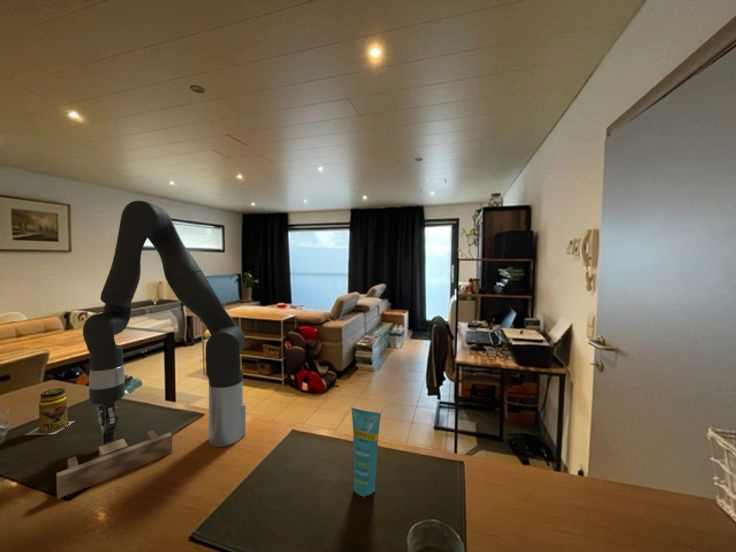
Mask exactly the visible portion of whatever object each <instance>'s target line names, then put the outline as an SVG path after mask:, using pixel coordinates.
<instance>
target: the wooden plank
mask: <svg viewBox="0 0 736 552" xmlns="http://www.w3.org/2000/svg"><path fill="white" fill-rule="evenodd" d="M170 454H173V434H172V433H171V432H166V433H164V434H161V435H159V436H158V434H157V433H156V432H155V431H154V430H153V429H152V430H149V431H146V440H145V441H142V442H138V443H137V444H134V445H131V446H128V448H125V449H122V450H120V451H117V452H114V453H111V454H108V455H106V456H103V457H100V458H99V457H98V458H95V459H93V460H89V461H87V462H84V463H82V464H79V462H78V459H77V456H73V457H70V458H67V469H64V470H62V471H59V472H56V498H57V500H60V499H62V497H63V498H65V497H67V496H69V495H68V494H70V495H73V494H75V493H77V492H80V491H82V490H84V489H87V488H90V487H92V486H95V485H96V484H98V483H99V484H100V483H103V482H104V481H107V480H109V479H111V478H114V477H116V476H119V475H120V474H121V475H122V474H124V473H127V472H129V471H132V470H133V469H134V470H135V469H136V468H139V467H140V466H141V467H142V466H144V465H147V464H149V463H150V462H153V461H156V460H158V459H160V458H163V457H166V456H168V455H170ZM74 492H75V493H74ZM66 495H67V496H66ZM64 496H65V497H64Z"/></svg>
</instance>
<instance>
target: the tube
mask: <svg viewBox="0 0 736 552" xmlns="http://www.w3.org/2000/svg"><path fill="white" fill-rule="evenodd" d="M381 414H382V413H381V412H378V411H369V410H364V409H359V408H356V407H351V420H352V421H351V422H352V438H353V439H352V440H353V490H354V491H355V492H356V493H357V494H359V495H361V496H365V495H369V494H371V493H373V492H374V493H375V489H376V473H377V456H378V443H379V433H380V425H381V424H380V423H381V418H382V416H381ZM354 491H353V492H354ZM355 492H354V493H355ZM356 493H355V494H356ZM374 493H373V494H374ZM357 494H356V495H357Z"/></svg>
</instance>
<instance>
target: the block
mask: <svg viewBox="0 0 736 552" xmlns="http://www.w3.org/2000/svg"><path fill="white" fill-rule="evenodd" d="M128 447H129V446H128V444H127V442H126V440H125V438H120V439H118V440H115V441H113V442H111V443H109V444H106V445H103V444H102V445H101V446H98V458H100V457H103V456H106V455H108V454H111V453H114V452H117V451H120V450H122V449H125V448H128Z"/></svg>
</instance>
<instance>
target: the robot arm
mask: <svg viewBox="0 0 736 552" xmlns="http://www.w3.org/2000/svg"><path fill="white" fill-rule="evenodd" d="M147 240H149V242H150V244H152V246H153V247H154V249H155V250H156V251H157V253H158V255H159V258H160V260H161V265H162V269H163V275H164V278H165V280H166V283H167V284H168V286H169V287H170V289H171V291H172V292H173V293H174V295H175V297H176V298H177V299H178V301H180V303H181V304H182V305H183V306H184V307H186V308H187V309H188V310H189V311H190V312H192V314H194V315H195V316H196V317H197V318H199V319H200V320H201V321H202V323H203V324H204V325H205V327H206V328H207V330H208V332H209V334H210V336H209V338H208V339H207V341H206V345H205V373H206V377H207V379H208V443H209V445H211V447H217V448H220V447H221V448H222V447H226V446H227V447H228V446H231V445H233V444H235V443H237V442H239V441H241V439H242V438H243V437H244V436H246V435H247V434H246V431H247V430H246V428H247V427H246V421H247V420H246V419H247V418H246V415H247V414H246V410H247V409H246V404H245V403H244V401H243V398H244V397H243V396H244V395H243V392H244V390H243V389H244V387H243V386H244V383H243V382H244V379H243V378H244V374H243V373H244V372H243V370H242V369H241V355H240V354H241V352H242V351H243V349H244V347H245V344H246V337H245V334H244V332H243V330H242V329H241V328H240V327H239V326H238V324H237V323H236V322H235V320H234V319H233V318H232V317H231V316H230V314H229V313H228V312H227V310H226V308H225V307H224V305H223V304H222V302H221V300H220V299H219V297H218V295H217V293H216V292H215V291H214V289H213V287H212V285H211V283H210V282H209V280H208V277H206V275H205V274H204V272H203V271H202V270H201V268H200V267H199V265H198V264H197V262H196V260H195V258H194V257H193V255H192V254H191V253H190V251H189V250H188V249H187V247H186V246H185V244H184V242H183V241H182V238H181V237H180V235H179V233H178V231H177V229H176V226H175V224H174V223H173V221H172V218H171V216H170V215H169V214H168V212H167V211H166V210H165V209H164V208H162V207H160V206H158V205H157V204H156V205H155V204H153V203H151V202H148V201H146V200H145V201H144V200H133V201H130V202H129V203H127V204H126V205H125V207H124V208H123V210H122V213H121V216H120V221H119V227H118V233H117V238H116V244H115V249H114V254H113V260H112V262H111V263H112V264H111V266H110V270H109V272H108V275H107V278H106V280H105V282H104V285H103V288H102V291H101V293H100V300H101V302H102V303H104V308H103V312H100V313H95V314H92V315H91V316H89V317H88V318H87V319H86V320H85V322H84V324H83V327H82V336H83V339H84V342H85V346H86V348H87V350H88V353H89V375H88V395H89V397H88V402H89V403H90V404H91V405H96V406H97V408H96V412H97V414H98V423H99V427H100V430H101V432H102V433H101V434H102V435H101V436H102V438H101V439H102V441H101V442H102V446H103V445H106V444H109V443H111V442H114V440H115V439H114V434H115V430H116V429H117V426H118V425H117V424H118V421H119V416H118V412H119V406H118V404H117V401H119V400H121V399H122V398H123V397H124V396H125V395H126V391H125V389H126V388H125V387H126V386H125V382H126V381H125V377H126V375H125V368H124V351H123V350H124V348H123V346H121V345H120V344H117V343H116V340H115V336H116V335H119V334H121V333H122V332H123V331H125V330H126V328H127V327H128V324H129V322H130V321H131V313H132V301H133V299H134V297H135V294H136V291H137V288H138V286H139V283H140V279H141V270H142V269H141V268H142V267H141V264H142V263H141V259H142V258H141V257H142V252H143V248H144V247H145V243H146V241H147Z"/></svg>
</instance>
